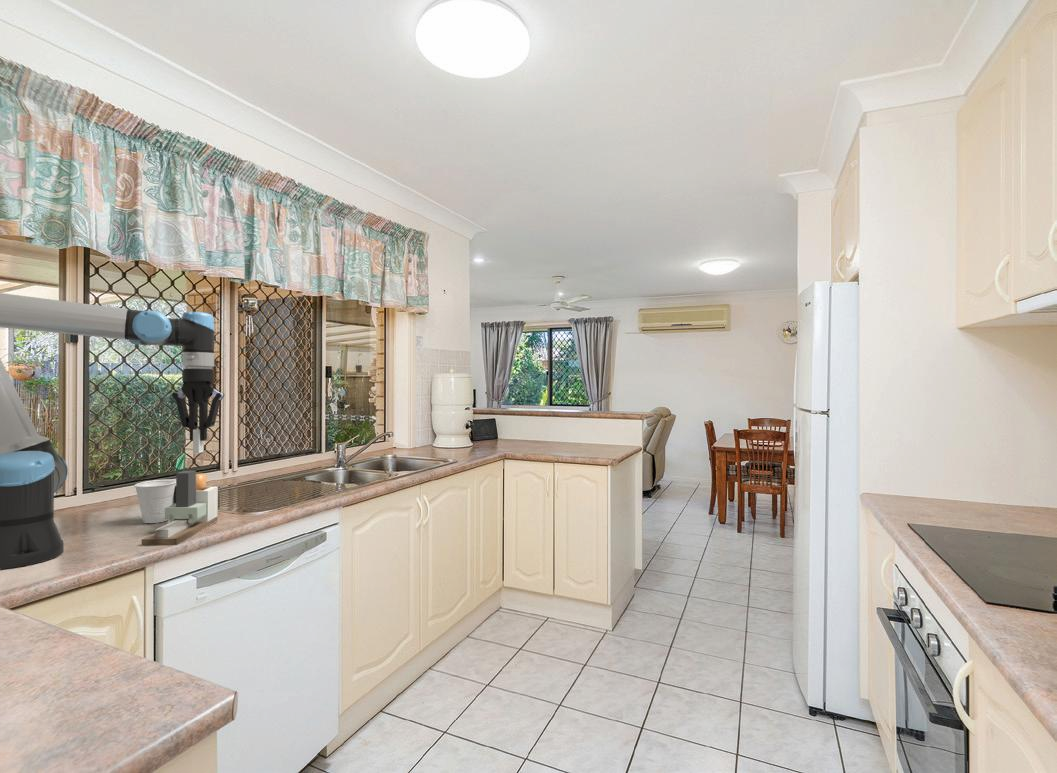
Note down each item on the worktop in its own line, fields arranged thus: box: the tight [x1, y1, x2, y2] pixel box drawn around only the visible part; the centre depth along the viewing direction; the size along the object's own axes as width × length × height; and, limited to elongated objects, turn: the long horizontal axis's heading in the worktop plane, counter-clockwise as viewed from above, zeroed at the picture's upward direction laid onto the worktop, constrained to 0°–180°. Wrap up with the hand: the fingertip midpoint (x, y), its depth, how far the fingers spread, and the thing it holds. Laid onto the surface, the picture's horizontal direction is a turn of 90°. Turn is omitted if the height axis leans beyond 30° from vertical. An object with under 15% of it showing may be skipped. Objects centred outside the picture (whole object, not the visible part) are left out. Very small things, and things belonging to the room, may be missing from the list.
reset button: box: [196, 473, 207, 491], centre depth 150 cm, size 4×4×5 cm
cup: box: [134, 479, 176, 524], centre depth 152 cm, size 10×10×11 cm
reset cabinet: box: [196, 486, 219, 522], centre depth 150 cm, size 8×6×8 cm
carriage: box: [165, 470, 206, 523], centre depth 143 cm, size 8×5×13 cm, turn 97°
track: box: [141, 516, 218, 546], centre depth 142 cm, size 8×22×4 cm, turn 7°
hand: (198, 452), depth 150 cm, fingers closed
